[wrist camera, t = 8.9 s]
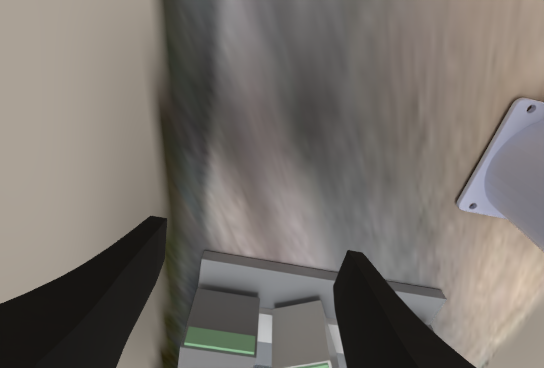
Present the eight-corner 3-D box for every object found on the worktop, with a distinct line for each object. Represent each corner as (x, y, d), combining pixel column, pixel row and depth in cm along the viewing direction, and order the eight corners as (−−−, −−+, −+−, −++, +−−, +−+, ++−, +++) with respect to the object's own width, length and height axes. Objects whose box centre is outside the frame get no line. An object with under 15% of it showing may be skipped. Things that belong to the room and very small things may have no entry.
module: (320, 300, 26) (330, 362, 21) (336, 353, 29) (347, 417, 24) (272, 309, 26) (271, 371, 22) (293, 360, 29) (296, 424, 25)
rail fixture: (441, 290, 27) (485, 366, 21) (387, 373, 33) (411, 451, 27) (204, 250, 25) (183, 321, 20) (191, 345, 31) (171, 422, 25)
